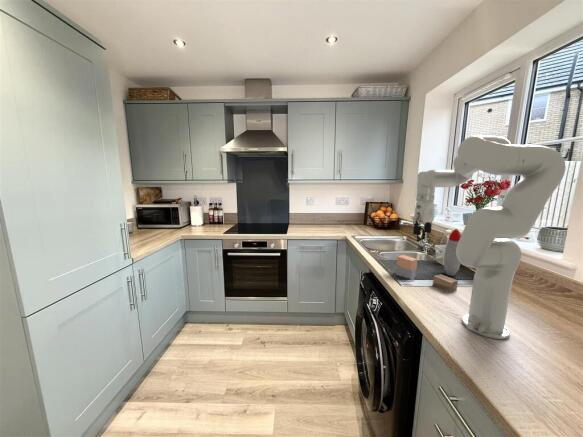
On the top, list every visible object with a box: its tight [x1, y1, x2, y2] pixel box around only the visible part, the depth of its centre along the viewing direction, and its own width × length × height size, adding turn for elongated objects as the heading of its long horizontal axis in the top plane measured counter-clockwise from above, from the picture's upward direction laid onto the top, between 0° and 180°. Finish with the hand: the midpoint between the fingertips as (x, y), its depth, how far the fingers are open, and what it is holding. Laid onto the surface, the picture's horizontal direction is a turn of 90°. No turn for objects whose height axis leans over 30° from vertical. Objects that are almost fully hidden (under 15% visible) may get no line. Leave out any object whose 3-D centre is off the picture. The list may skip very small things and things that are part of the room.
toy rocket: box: [443, 228, 462, 277], centre depth 124 cm, size 8×8×25 cm
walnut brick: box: [432, 273, 459, 294], centre depth 110 cm, size 5×8×5 cm, turn 24°
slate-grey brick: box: [395, 265, 417, 280], centre depth 123 cm, size 5×8×5 cm, turn 41°
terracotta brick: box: [396, 254, 418, 270], centre depth 122 cm, size 5×8×5 cm, turn 30°
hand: (422, 233), depth 113 cm, fingers open, 9 cm apart
